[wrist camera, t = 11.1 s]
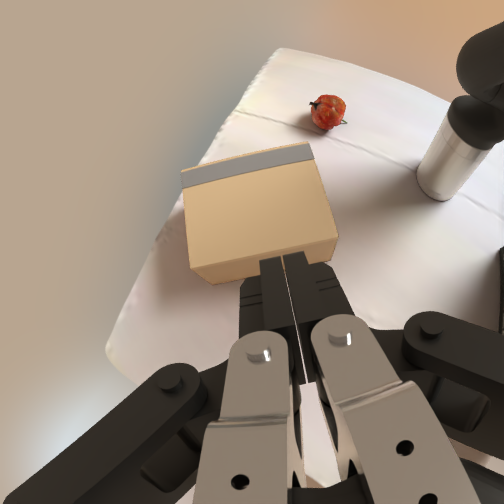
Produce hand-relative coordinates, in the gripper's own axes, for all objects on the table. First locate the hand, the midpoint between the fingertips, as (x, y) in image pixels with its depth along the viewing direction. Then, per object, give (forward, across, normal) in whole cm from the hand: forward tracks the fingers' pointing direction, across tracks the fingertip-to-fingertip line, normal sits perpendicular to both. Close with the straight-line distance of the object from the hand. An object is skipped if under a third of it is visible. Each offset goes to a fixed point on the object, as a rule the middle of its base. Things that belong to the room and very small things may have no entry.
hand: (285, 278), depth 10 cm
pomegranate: (+54, -16, 0) cm, 57 cm away
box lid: (+32, +2, +7) cm, 33 cm away
